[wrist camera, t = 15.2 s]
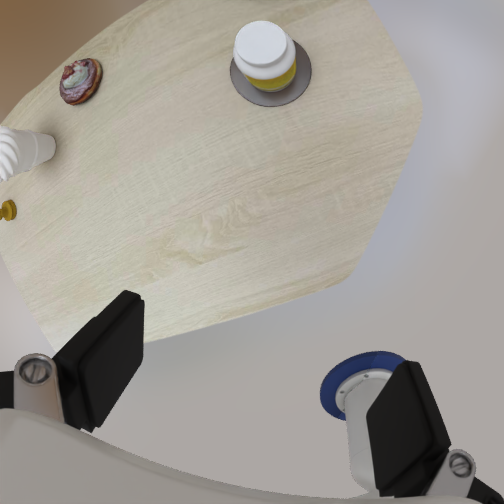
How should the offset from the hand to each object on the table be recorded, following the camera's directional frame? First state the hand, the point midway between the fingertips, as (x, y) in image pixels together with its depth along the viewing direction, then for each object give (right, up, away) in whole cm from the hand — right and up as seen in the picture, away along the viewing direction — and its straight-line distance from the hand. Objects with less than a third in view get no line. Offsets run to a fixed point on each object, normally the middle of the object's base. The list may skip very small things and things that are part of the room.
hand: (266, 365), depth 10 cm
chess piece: (-48, +12, +35) cm, 61 cm away
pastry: (-26, +30, +26) cm, 47 cm away
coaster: (+2, +26, +23) cm, 35 cm away
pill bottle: (+2, +26, +23) cm, 35 cm away
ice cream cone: (-34, +21, +30) cm, 50 cm away
